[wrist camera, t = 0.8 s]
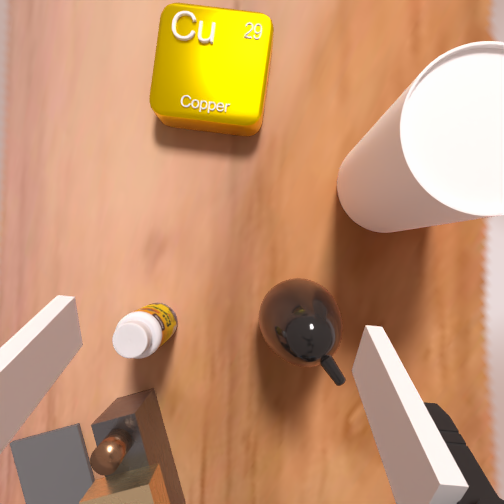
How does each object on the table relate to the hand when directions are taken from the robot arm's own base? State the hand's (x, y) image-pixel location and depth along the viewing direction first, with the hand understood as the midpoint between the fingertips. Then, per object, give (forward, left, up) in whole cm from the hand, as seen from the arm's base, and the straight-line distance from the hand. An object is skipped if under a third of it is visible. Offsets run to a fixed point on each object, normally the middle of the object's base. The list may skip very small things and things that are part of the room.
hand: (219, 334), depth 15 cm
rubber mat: (-20, +34, -30) cm, 50 cm away
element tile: (+29, -3, -31) cm, 42 cm away
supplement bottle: (-2, +14, -31) cm, 33 cm away
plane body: (-22, +20, -30) cm, 42 cm away
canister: (+8, -22, -31) cm, 39 cm away
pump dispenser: (-6, -5, -31) cm, 32 cm away
